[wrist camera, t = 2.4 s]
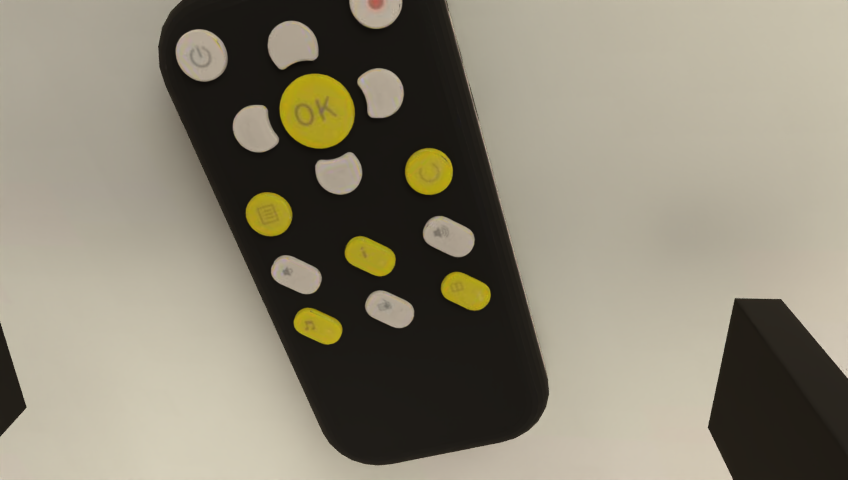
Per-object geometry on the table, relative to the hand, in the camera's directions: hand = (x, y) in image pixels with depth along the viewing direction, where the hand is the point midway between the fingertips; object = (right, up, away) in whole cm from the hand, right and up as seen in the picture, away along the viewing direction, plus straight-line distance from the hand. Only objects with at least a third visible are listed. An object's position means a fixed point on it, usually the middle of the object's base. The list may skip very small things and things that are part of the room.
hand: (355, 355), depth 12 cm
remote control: (0, +3, +5) cm, 6 cm away
